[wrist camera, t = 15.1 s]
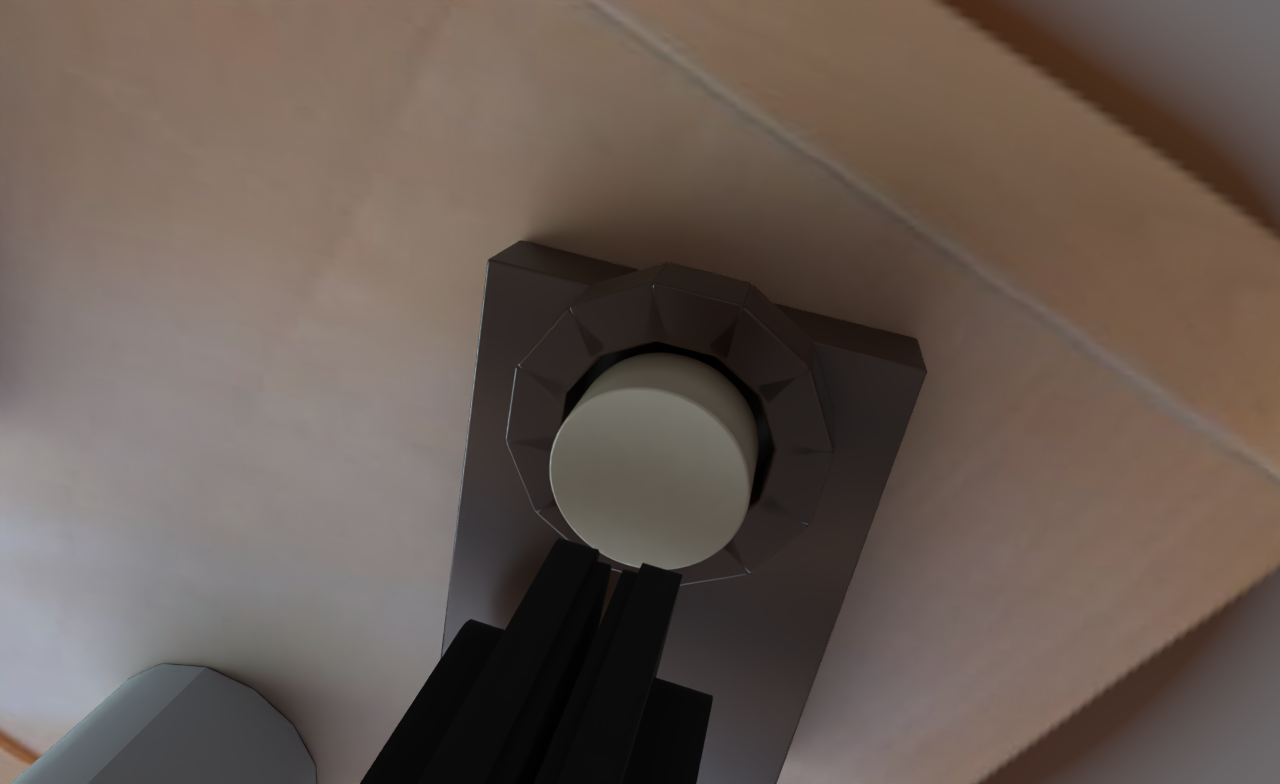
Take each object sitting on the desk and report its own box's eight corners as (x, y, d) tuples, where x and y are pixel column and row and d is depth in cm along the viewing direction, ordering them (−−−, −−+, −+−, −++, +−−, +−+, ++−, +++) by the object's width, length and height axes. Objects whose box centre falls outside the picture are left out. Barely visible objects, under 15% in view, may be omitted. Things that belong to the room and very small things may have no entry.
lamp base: (524, 201, 20) (458, 233, 17) (931, 300, 19) (955, 357, 16) (463, 663, 26) (405, 759, 23) (768, 759, 25) (758, 877, 22)
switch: (593, 330, 17) (564, 363, 15) (780, 379, 17) (773, 419, 15) (564, 491, 19) (535, 539, 17) (733, 540, 18) (723, 594, 17)
